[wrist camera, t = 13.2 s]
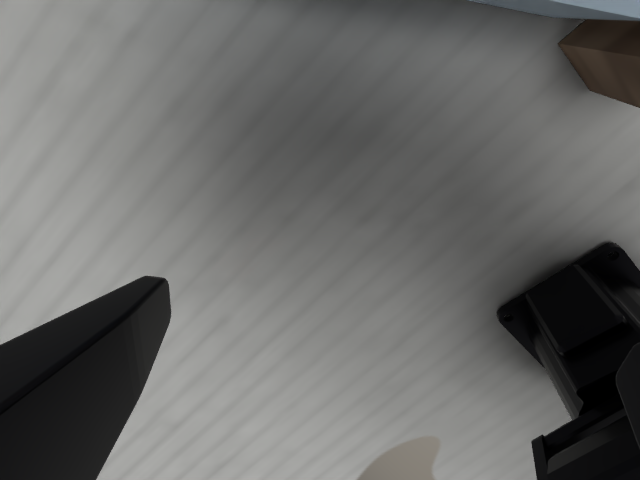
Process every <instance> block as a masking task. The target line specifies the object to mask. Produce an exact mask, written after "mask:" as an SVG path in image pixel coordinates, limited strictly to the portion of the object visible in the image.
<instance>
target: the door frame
mask: <svg viewBox="0 0 640 480" xmlns="http://www.w3.org/2000/svg"><path fill="white" fill-rule="evenodd" d="M558 45H559V46H560V48H561V49H562V51H563V52H564V53H565V55H566V56H567V58H568V59H569V61H570V62H571V64H572V65H573V67H574V68H575V69H576V71H577V72H578V74H579V75H580V77H581V78H582V80H583V81H584V83H585V84H586V85H587V87H588V88H589V90H590V91H592V92H595V93H598V94H601V95H604V96H607V97H610V98H613V99H616V100H619V101H621V102H624V103H627V104H630V105H633V106H636V107H639V108H640V21H618V20H592V19H587V20H585V21H584V22H583V23H582V24H581V25H579V26H578V27H577V28H576V29H575V30H573V31H572V32H571V33H570V34H569V35H567V36H566V37H565V38H564V39H563V40H561V41H560V42H559V43H558Z"/></svg>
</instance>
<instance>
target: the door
mask: <svg viewBox="0 0 640 480" xmlns="http://www.w3.org/2000/svg"><path fill="white" fill-rule="evenodd" d="M468 1H473V2H478V3H483V4H488V5H493V6H498V7H503V8H508V9H513V10H518V11H523V12H528V13H533V14H538V15H543V16H548V17H553V18H574V19H592V20H618V21H640V0H468Z"/></svg>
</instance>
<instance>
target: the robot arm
mask: <svg viewBox="0 0 640 480" xmlns="http://www.w3.org/2000/svg"><path fill="white" fill-rule="evenodd" d="M611 252H614V253H613V254H612V255H611V256H608V254H609V253H611ZM607 256H608V257H607ZM507 314H511V315H510V316H508V317H504V316H505V315H507ZM497 317H498V319H499V321H500V323H501V324H502V325H503V326H504V327H505V328H506V329H507V330H508V331H509V332H510V333H511V334H512V335H513V336H514V337H515V338H516V339H517V340H518V341H519V342H520V343H521V344H522V345H523V347H524V348H525V349H526V350H527V351H528V352H529V353H530V354H531V355H532V356H533V357H534V358H535V359H536V360H537V361H538V362H539V363H540V364H541V365H542V366H543V367H544V368H545V369H546V371H547V373H548V375H549V377H550V379H551V380H552V382H553V384H554V386H555V388H556V390H557V392H558V394H559V396H560V398H561V400H562V401H563V403H564V405H565V407H566V409H567V411H568V413H569V415H570V417H571V419H572V421H570V422H568V423H566V424H565V425H563V426H561V427H560V428H558V429H556V430H554V431H553V432H551V433H549V434H548V435H546V436H544V435H541V436H539V437H537V438H536V439H534V440H532V449H533V456H534V462H535V469H536V475H537V480H640V271H639V269H638V268H637V267H636V266H635V264H634V263H633V262H632V260H631V259H630V258H629V256H628V255H627V254H626V253H625V251H624V250H623V249H622V248H621V247H620V246H619V245H617V244H616V243H607V244H605V245H603V246H601V247H599V248H598V249H596V250H594V251H593V252H591V253H589V254H588V255H586V256H584V257H583V258H581V259H580V260H578V261H576V262H575V263H573V264H571V265H570V266H568V267H566V268H565V269H563V270H561V271H560V272H558V273H557V274H555V275H553V276H552V277H550V278H548V279H547V280H545V281H543V282H542V283H540V284H538V285H537V286H535V287H534V288H532V289H530V290H529V291H527V292H525V293H524V294H522V295H520V296H519V297H517V298H515V299H514V300H512V301H510V302H509V303H507V304H506V305H504V306H502V307H501V308H500V309H498V311H497ZM170 318H171V305H170V292H169V284H168V281H167V280H166V279H165V278H161V277H154V276H144V277H141V278H139V279H137V280H135V281H133V282H131V283H129V284H127V285H125V286H122V287H120V288H118V289H116V290H114V291H112V292H110V293H108V294H106V295H104V296H102V297H99V298H97V299H95V300H93V301H91V302H89V303H87V304H85V305H83V306H81V307H79V308H77V309H74V310H72V311H70V312H68V313H66V314H64V315H62V316H60V317H58V318H56V319H54V320H51V321H49V322H47V323H45V324H43V325H41V326H39V327H37V328H35V329H33V330H31V331H28V332H26V333H24V334H22V335H20V336H18V337H16V338H14V339H12V340H10V341H8V342H5V343H3V344H1V345H0V480H96V479H97V477H98V475H99V473H100V471H101V469H102V467H103V465H104V464H105V462H106V460H107V458H108V456H109V454H110V452H111V450H112V449H113V447H114V445H115V443H116V441H117V439H118V437H119V435H120V433H121V432H122V430H123V428H124V426H125V424H126V422H127V420H128V418H129V417H130V415H131V413H132V411H133V409H134V407H135V405H136V403H137V401H138V399H139V397H140V395H141V393H142V391H143V388H144V386H145V384H146V381H147V379H148V376H149V374H150V371H151V369H152V366H153V364H154V361H155V359H156V356H157V353H158V351H159V348H160V346H161V343H162V341H163V338H164V336H165V333H166V331H167V328H168V326H169V323H170Z"/></svg>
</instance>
